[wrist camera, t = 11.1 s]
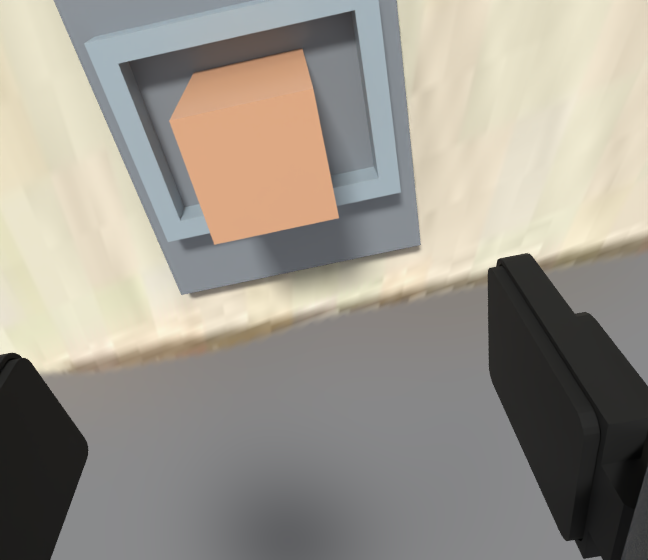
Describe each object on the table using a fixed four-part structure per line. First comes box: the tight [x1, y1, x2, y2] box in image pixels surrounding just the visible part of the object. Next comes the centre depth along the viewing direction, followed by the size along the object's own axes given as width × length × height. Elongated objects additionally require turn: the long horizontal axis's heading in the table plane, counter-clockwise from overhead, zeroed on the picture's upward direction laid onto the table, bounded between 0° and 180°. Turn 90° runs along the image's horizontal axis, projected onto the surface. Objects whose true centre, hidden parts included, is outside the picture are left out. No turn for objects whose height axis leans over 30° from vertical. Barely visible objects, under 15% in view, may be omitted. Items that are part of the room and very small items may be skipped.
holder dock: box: [54, 0, 421, 295], centre depth 25 cm, size 14×18×2 cm
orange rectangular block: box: [169, 48, 339, 245], centre depth 22 cm, size 5×5×7 cm
